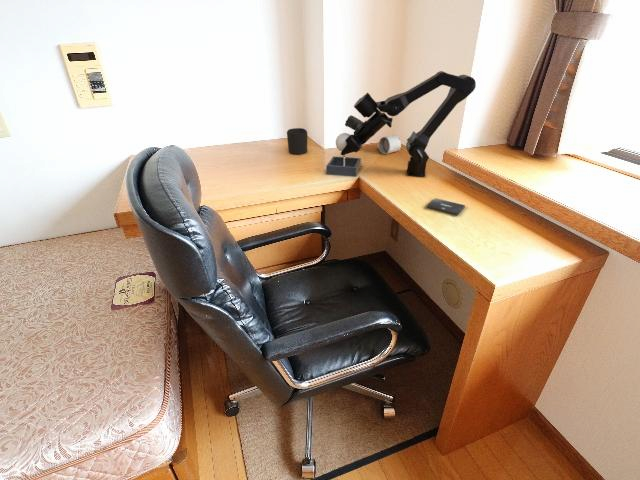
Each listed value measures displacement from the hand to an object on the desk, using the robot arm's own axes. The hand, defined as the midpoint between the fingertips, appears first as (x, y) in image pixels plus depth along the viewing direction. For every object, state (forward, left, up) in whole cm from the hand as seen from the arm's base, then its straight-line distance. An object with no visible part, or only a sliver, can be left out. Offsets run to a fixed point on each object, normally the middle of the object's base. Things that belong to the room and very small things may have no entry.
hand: (343, 151), depth 140 cm
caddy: (0, 0, -8) cm, 8 cm away
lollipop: (0, 0, -8) cm, 8 cm away
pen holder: (+26, -19, -8) cm, 33 cm away
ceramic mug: (-15, -28, -8) cm, 33 cm away
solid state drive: (-39, +27, -8) cm, 48 cm away
